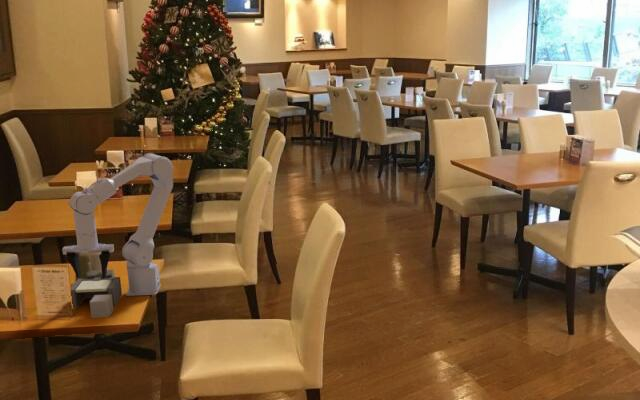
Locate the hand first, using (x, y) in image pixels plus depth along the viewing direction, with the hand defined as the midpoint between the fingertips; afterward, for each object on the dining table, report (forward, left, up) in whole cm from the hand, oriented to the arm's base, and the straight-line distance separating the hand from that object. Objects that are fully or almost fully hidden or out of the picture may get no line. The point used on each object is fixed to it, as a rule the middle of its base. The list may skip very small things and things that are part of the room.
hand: (91, 275), depth 197 cm
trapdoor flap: (0, -3, -6) cm, 7 cm away
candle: (+5, -24, -10) cm, 26 cm away
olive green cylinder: (+8, -17, -10) cm, 21 cm away
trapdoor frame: (0, -2, -9) cm, 10 cm away
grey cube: (-4, +7, -10) cm, 12 cm away
